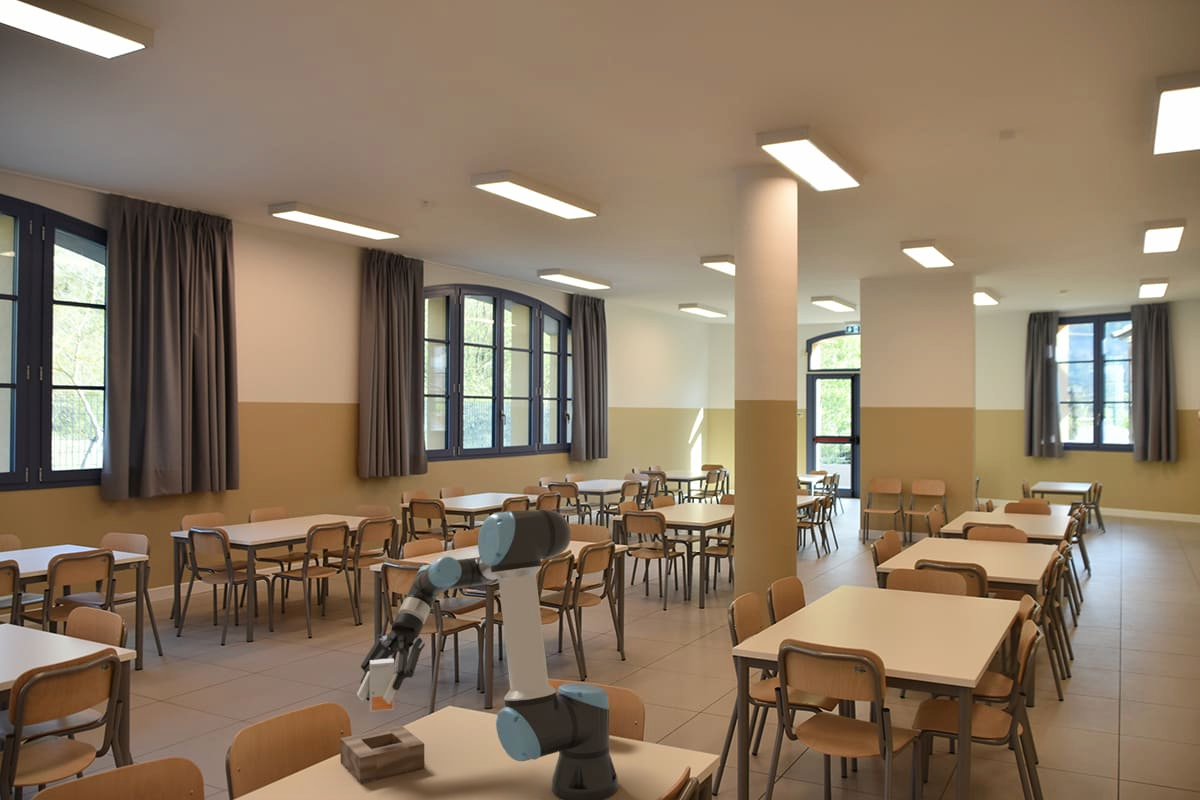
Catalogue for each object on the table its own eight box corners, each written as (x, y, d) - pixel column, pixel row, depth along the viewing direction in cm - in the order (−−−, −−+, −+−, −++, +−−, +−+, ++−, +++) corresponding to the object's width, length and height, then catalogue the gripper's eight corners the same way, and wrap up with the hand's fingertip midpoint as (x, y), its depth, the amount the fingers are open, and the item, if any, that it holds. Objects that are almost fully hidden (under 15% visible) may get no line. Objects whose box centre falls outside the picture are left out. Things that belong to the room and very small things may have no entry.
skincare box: (369, 713, 210) (369, 664, 210) (369, 708, 214) (369, 659, 214) (394, 710, 211) (394, 662, 212) (394, 705, 216) (394, 657, 216)
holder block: (424, 768, 210) (424, 743, 210) (360, 783, 201) (360, 757, 201) (401, 748, 223) (401, 725, 223) (340, 762, 214) (340, 738, 215)
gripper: (448, 629, 224) (413, 711, 208) (385, 624, 231) (347, 702, 216) (437, 613, 219) (400, 695, 203) (373, 608, 227) (333, 687, 211)
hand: (373, 699), depth 210 cm, fingers closed on skincare box, 7 cm apart
